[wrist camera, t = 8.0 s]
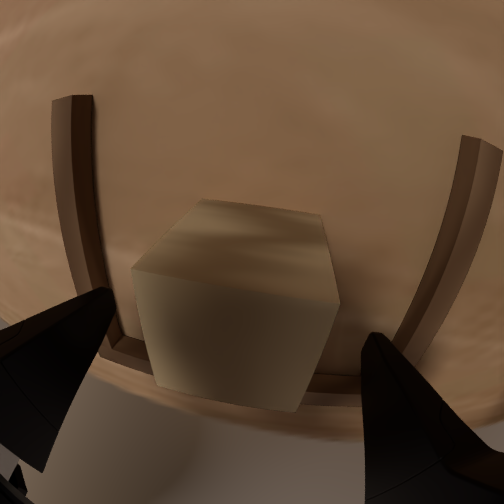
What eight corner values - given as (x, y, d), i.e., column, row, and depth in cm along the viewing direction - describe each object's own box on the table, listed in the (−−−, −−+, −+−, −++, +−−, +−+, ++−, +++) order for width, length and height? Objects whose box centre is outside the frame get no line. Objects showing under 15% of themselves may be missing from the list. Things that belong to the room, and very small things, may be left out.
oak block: (319, 214, 11) (340, 303, 6) (298, 308, 13) (295, 412, 8) (202, 198, 11) (130, 268, 6) (201, 292, 14) (156, 385, 8)
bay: (484, 145, 8) (502, 150, 7) (381, 389, 16) (384, 406, 14) (72, 99, 10) (52, 100, 8) (109, 343, 17) (100, 356, 16)
